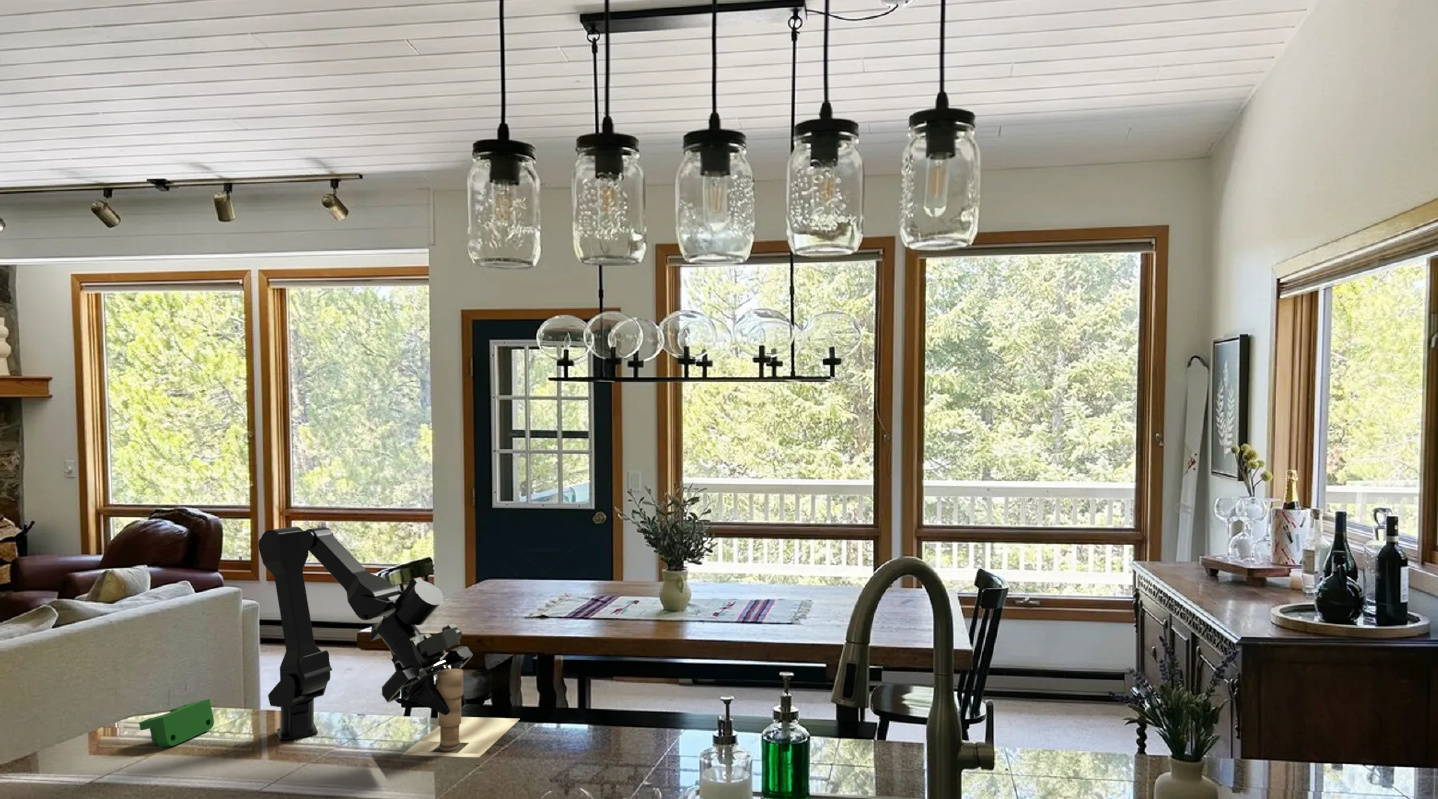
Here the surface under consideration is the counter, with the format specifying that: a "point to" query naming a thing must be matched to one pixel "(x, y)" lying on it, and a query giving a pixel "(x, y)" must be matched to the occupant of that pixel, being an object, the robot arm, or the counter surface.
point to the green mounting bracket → (180, 723)
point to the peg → (450, 707)
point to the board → (466, 737)
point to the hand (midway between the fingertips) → (456, 709)
